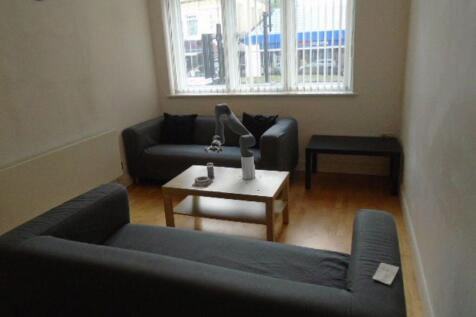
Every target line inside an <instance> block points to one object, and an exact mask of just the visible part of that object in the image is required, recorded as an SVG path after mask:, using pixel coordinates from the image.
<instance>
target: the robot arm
mask: <svg viewBox="0 0 476 317" xmlns="http://www.w3.org/2000/svg"><path fill="white" fill-rule="evenodd" d="M225 115H226V116H227V125H228V127H229V129H230V130H231V132H234V133H235V134H237V135H240V136H239V141H238V142H239V149H240V150H239V151H240V156H241V158H240V159H241V173H242V174H241V175H242V179H244V180H253V179H254V178H256V165H255V163H254V158H255V157H254V151H252V150H248V148H251V147H254V146H255V145H256V138H255V136H254V135H253V134H252V133H251V132H250V131H249V130H248V129H247V128H246V127H245V126H244V125H243V124H242V122H241V121H240V119H238V118H237V116H236V115H235V114H234V112H233V111H232V109H231V107H230V106H229V104H227V103H219V104H216V105H215V106H214V118H215V119H214V121H215V132H214V133H215V135H214V136H212V142H211V144H210V146H209V147H208V146H205V147H204V153H206V154H208V153H209V152H214V153H215V152H216V153H217V154H219V153H220V152H223V148H224V147H223V146H221V145H224V144H225V141H226V138H225V135H224V134H225V132H224V131H225V125H224V122H222V120H221V116H225Z"/></svg>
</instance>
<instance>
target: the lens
mask: <svg viewBox="0 0 476 317" xmlns="http://www.w3.org/2000/svg"><path fill="white" fill-rule="evenodd" d="M206 171H207V172H206V174H207V177H209V178H210V180H214V179H215V170H214V162H207V163H206Z"/></svg>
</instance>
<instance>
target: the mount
mask: <svg viewBox="0 0 476 317" xmlns="http://www.w3.org/2000/svg"><path fill="white" fill-rule="evenodd" d="M212 183H214V179H210V178H209V177H208V176H204V175H203V176H197V177H195V178H194V182H193V183H192V184H191V187H199V188H207V187H209V186H210V185H211V184H212Z"/></svg>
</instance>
